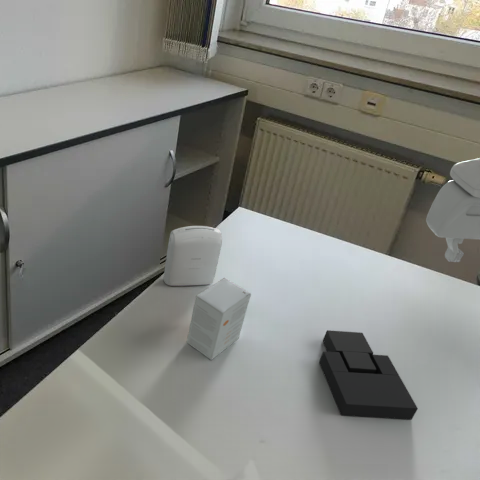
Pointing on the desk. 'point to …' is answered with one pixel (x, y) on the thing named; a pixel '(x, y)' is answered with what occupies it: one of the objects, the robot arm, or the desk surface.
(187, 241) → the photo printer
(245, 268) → the desk surface
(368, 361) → the black block
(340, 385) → the black notched block
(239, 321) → the small box
